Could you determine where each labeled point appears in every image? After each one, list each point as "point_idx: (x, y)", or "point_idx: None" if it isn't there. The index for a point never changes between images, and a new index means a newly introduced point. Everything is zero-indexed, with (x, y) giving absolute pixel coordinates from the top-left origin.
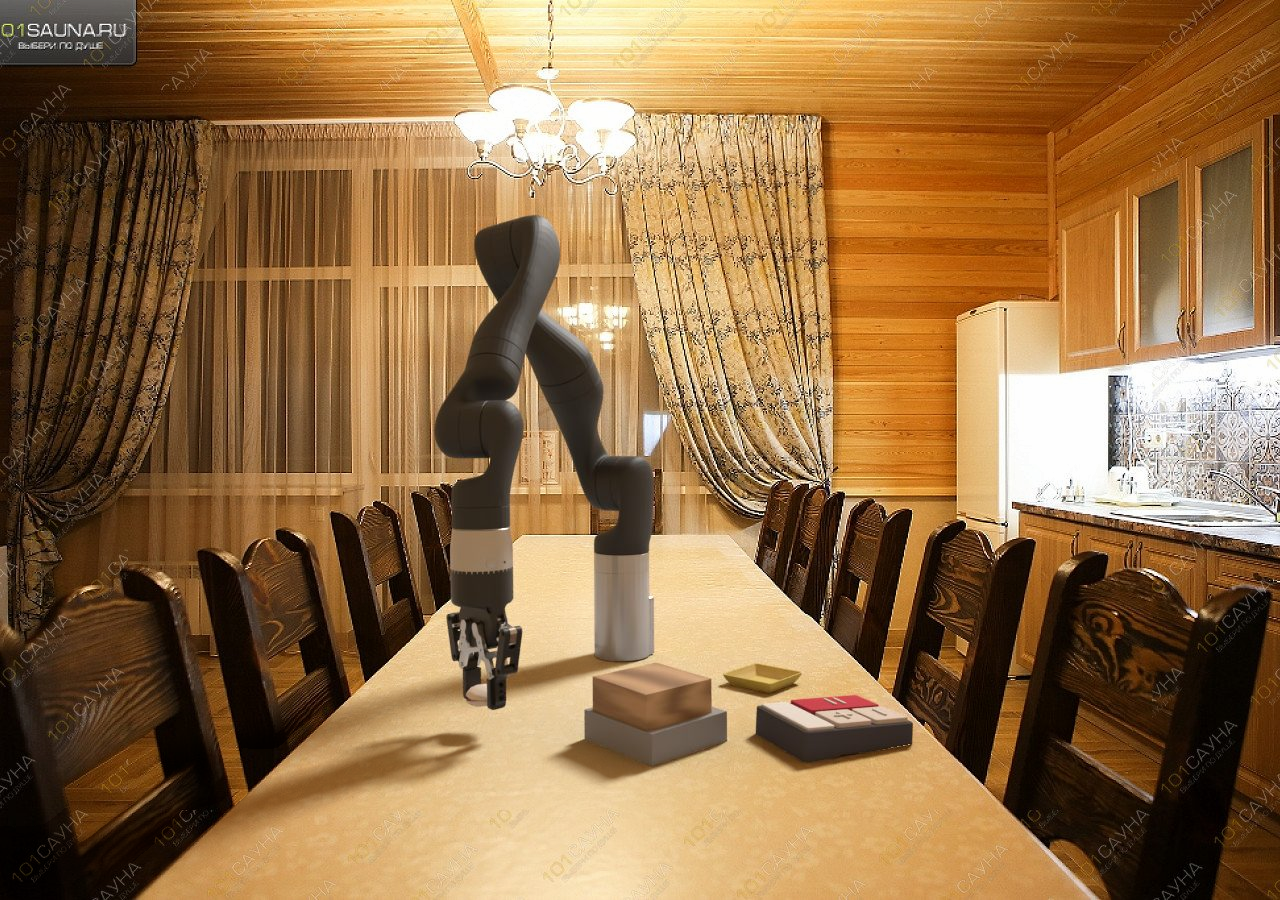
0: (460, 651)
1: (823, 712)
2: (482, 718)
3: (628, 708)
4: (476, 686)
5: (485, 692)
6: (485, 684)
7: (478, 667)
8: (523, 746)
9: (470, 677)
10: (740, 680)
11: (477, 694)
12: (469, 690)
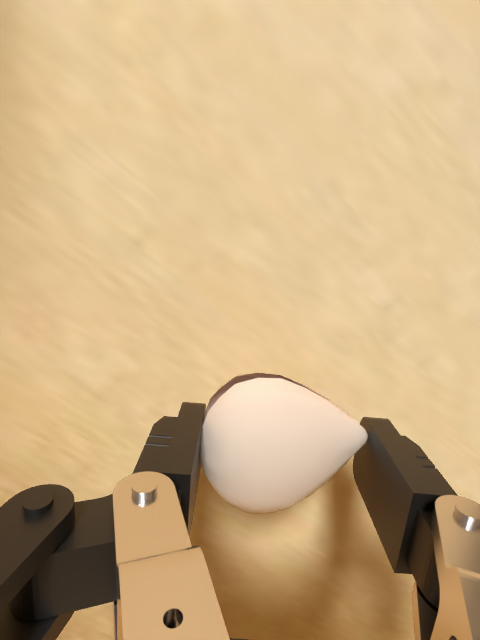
0: (42, 605)
1: None
2: (151, 311)
3: None
4: (246, 484)
5: (315, 479)
6: (255, 446)
7: (176, 480)
8: (449, 384)
9: (192, 502)
10: None
11: (297, 501)
12: (238, 503)
